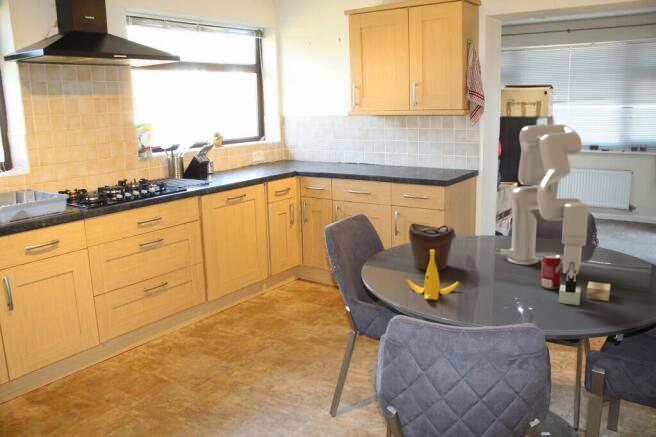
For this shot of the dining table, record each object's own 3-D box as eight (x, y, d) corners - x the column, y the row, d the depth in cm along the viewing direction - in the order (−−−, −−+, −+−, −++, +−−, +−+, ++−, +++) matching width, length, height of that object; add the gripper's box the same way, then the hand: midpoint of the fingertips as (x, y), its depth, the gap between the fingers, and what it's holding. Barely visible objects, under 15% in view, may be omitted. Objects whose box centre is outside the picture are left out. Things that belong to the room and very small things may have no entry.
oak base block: (586, 298, 205) (587, 287, 204) (587, 292, 211) (588, 281, 210) (608, 301, 202) (609, 290, 201) (609, 294, 208) (610, 284, 207)
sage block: (558, 303, 201) (559, 290, 200) (559, 296, 207) (560, 284, 206) (579, 305, 198) (580, 293, 197) (579, 299, 204) (580, 286, 203)
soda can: (550, 291, 212) (552, 259, 209) (536, 286, 218) (538, 254, 215) (564, 288, 215) (566, 256, 212) (549, 282, 221) (551, 252, 218)
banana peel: (429, 305, 202) (429, 258, 198) (405, 288, 220) (405, 244, 216) (471, 299, 207) (473, 253, 203) (445, 282, 225) (446, 240, 221)
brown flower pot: (464, 268, 239) (465, 225, 235) (421, 275, 232) (421, 231, 228) (440, 257, 255) (440, 217, 252) (400, 264, 248) (399, 223, 245)
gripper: (563, 232, 207) (560, 279, 210) (560, 244, 191) (557, 294, 195) (586, 234, 204) (583, 281, 207) (585, 246, 188) (582, 297, 192)
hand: (570, 287), depth 201 cm, fingers open, 9 cm apart
